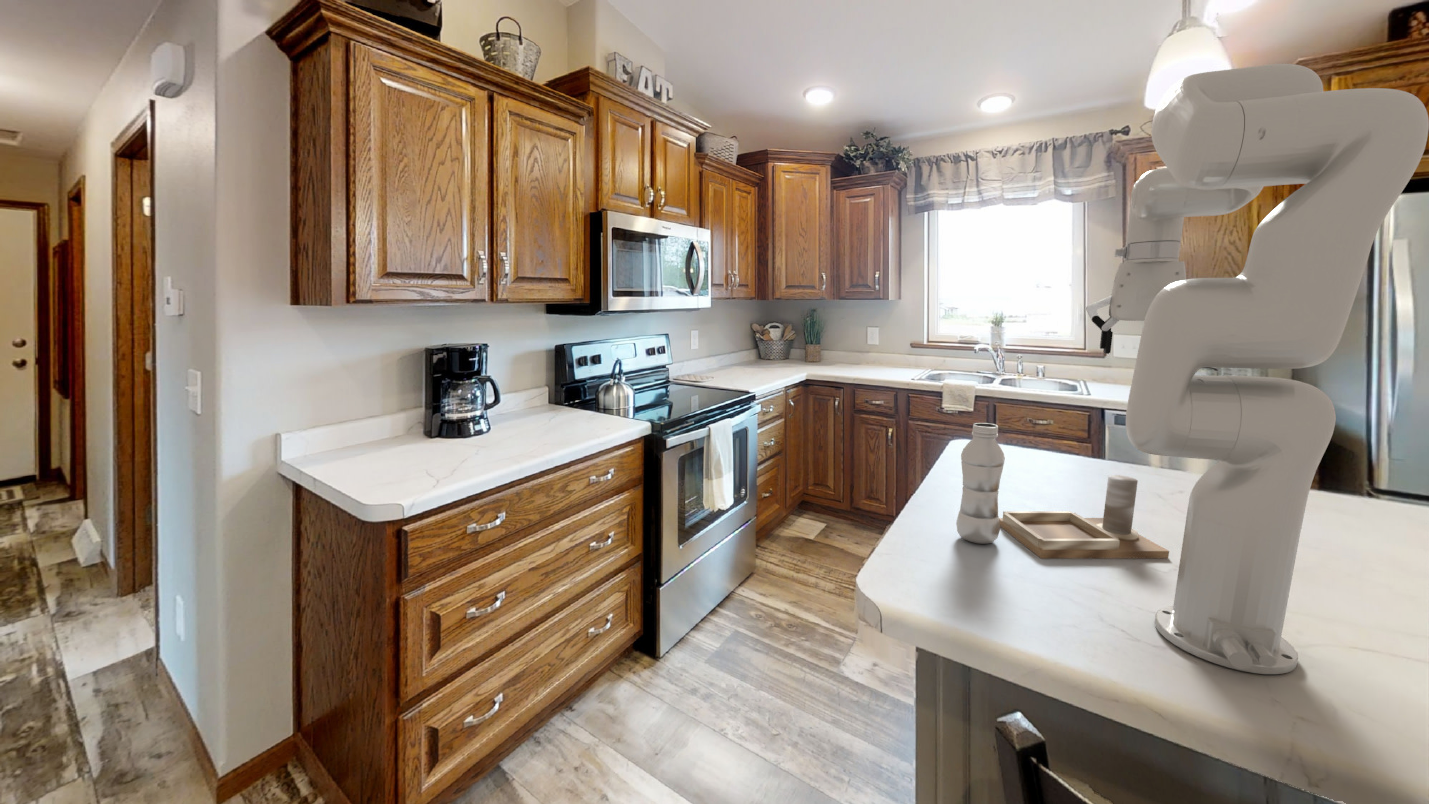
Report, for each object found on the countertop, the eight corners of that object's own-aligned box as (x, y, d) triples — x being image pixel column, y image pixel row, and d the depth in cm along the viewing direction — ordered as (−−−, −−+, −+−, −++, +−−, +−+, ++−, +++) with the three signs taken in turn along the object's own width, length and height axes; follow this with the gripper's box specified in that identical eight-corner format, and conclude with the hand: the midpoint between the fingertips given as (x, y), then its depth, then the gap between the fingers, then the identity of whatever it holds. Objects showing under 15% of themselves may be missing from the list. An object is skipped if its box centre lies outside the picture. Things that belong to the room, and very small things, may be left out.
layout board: (1041, 558, 90) (1047, 492, 88) (997, 524, 103) (1002, 467, 101) (1168, 558, 89) (1177, 492, 88) (1107, 524, 103) (1114, 466, 101)
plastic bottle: (1003, 550, 93) (1014, 430, 89) (959, 546, 94) (968, 428, 91) (992, 534, 99) (1002, 422, 95) (951, 531, 100) (959, 420, 97)
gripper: (1094, 254, 98) (1083, 353, 101) (1223, 250, 90) (1208, 357, 93) (1089, 258, 105) (1079, 351, 108) (1209, 254, 97) (1195, 354, 100)
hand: (1139, 354), depth 100 cm, fingers open, 9 cm apart
